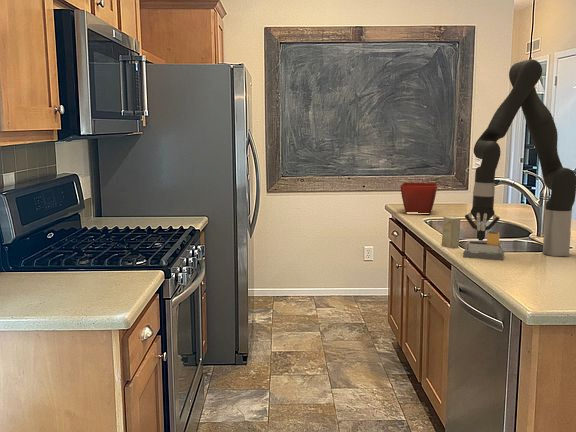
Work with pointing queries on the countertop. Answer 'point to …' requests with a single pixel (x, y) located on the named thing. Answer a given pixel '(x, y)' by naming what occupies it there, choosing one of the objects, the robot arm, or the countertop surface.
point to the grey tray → (483, 250)
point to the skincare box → (451, 231)
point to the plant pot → (418, 196)
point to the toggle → (493, 238)
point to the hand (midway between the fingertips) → (480, 240)
